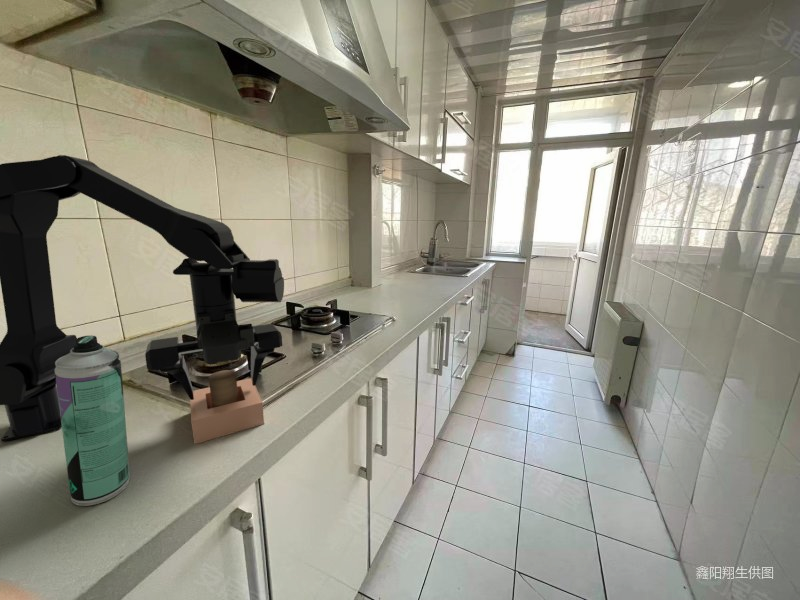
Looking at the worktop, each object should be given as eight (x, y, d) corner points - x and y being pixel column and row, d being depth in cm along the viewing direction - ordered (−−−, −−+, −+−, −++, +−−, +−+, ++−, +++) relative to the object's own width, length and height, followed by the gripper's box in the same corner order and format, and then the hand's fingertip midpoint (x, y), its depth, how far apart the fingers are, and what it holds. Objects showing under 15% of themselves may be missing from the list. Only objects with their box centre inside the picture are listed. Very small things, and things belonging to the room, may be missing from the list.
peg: (213, 415, 57) (207, 373, 55) (238, 409, 59) (234, 368, 57) (214, 427, 54) (209, 383, 52) (241, 420, 56) (237, 377, 54)
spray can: (128, 465, 45) (117, 327, 40) (131, 492, 41) (119, 342, 36) (72, 483, 41) (53, 333, 37) (69, 514, 37) (48, 350, 33)
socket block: (192, 411, 58) (189, 391, 57) (253, 396, 63) (251, 377, 62) (194, 444, 50) (191, 420, 49) (264, 423, 55) (262, 402, 54)
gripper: (132, 324, 40) (152, 435, 44) (288, 306, 50) (293, 398, 54) (141, 304, 49) (157, 398, 53) (271, 292, 59) (277, 372, 63)
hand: (224, 391), depth 55 cm, fingers open, 9 cm apart
